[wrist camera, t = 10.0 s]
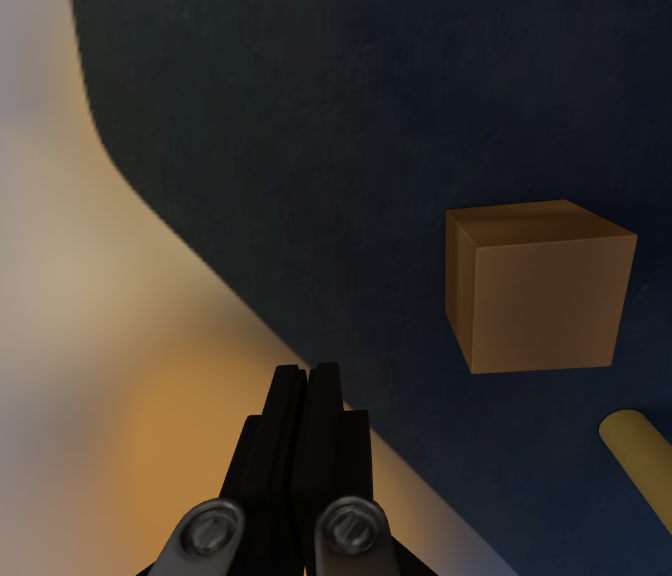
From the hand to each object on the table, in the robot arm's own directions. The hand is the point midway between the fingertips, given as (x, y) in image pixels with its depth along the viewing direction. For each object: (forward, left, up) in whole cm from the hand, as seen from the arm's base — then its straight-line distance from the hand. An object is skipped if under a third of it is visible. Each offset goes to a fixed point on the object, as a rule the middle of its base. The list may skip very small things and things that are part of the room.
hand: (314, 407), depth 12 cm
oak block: (+7, +4, -9) cm, 12 cm away
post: (+18, -3, -9) cm, 20 cm away
